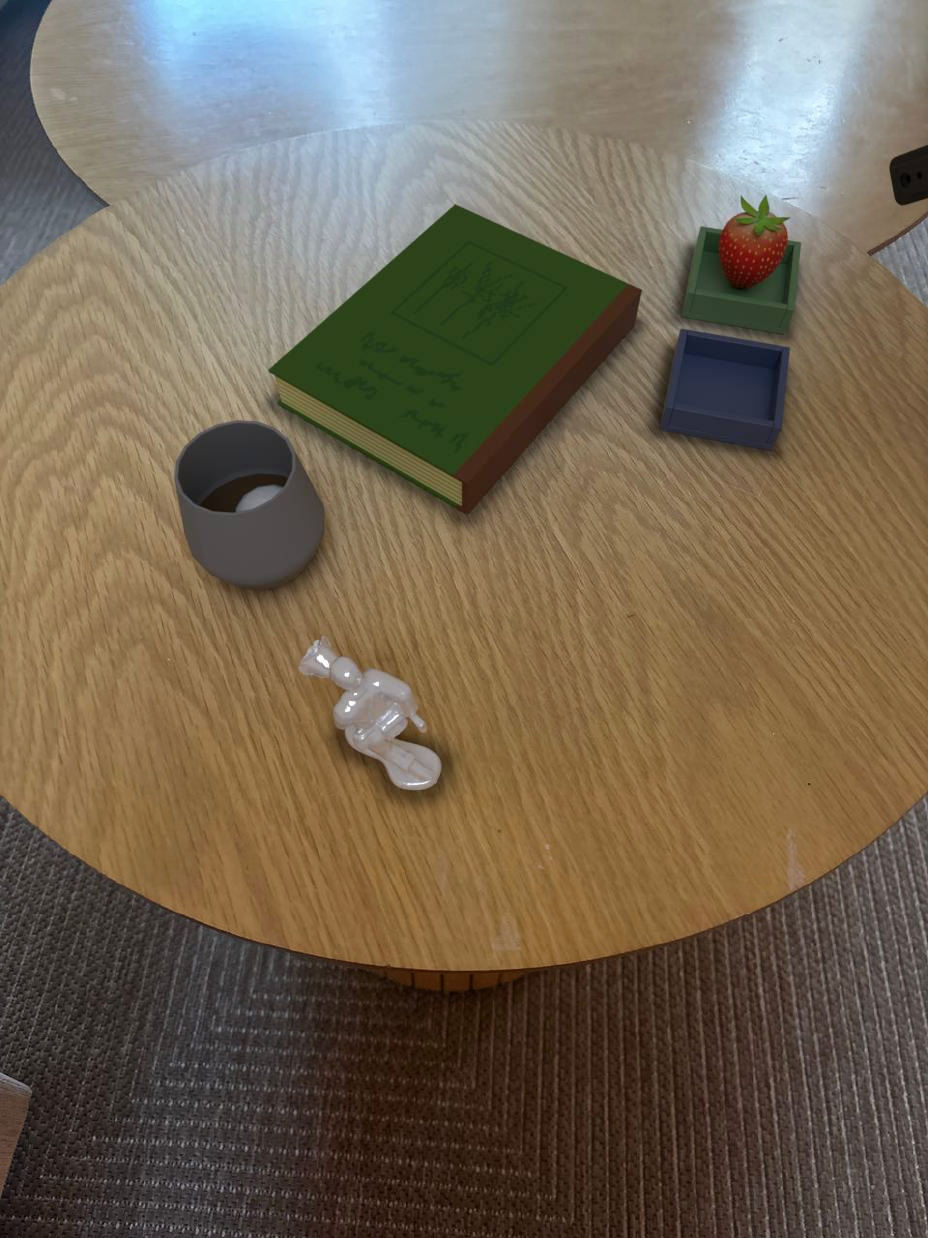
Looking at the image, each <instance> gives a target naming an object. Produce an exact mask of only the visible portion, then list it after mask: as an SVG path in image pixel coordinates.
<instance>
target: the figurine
mask: <svg viewBox="0 0 928 1238" xmlns="http://www.w3.org/2000/svg"><path fill="white" fill-rule="evenodd" d="M320 636H321V637H320V639H316V640H314V642H313V645H311V646H309V648H308V649H307V651H306V654H305V655H304V656H303V657H302V659H301V661H300V665H299V666H298V667H297V668H298V671H299V672H300V673H301V674H303V675H304V676H310V677H312V676H315V677H319V678H322V679H329V680H331V681H332V682H333V683H334V684H336V686H337V687H339V688H341V689H343V690H345V691H344V692H343V693H342V694H341V696H340V698H339V700H338V701H337V702H336V704H335V705H334V707H333V709H332V719H333V723H334V726H335V727H336V728H337V729H339V730H340V731H344V736H345V740H346V742H347V743H348V744H349V745H350V746H351V748H353V749H354V750H355V751H357V752H359V753H361V754H364V755H366V756H367V757H371V758H373V759H375V760H378V761H380V762H381V763H382V764H383V766H384V767H385V770H386V773H387V775H388V777H389V779H390V781H391V783H393V785H395V787H397V788H399V789H401V790H402V789H403V790H408V791H422V790H428V789H430V788H431V787H433V786H434V785H435V784H438V780H439V778H440V775H441V773H442V765H443V764H442V760H441V758H440V756H439V755H438V754H437V753H436V752H435V751H433V750H432V749H430V748H429V747H427V746H424V745H422V744H417V743H413V742H409V741H405V740H401V739H398V738H396V737H397V736H399V735H400V734H401V733H402V732H403V731H404V730H405V729H406V727H407V726H408V724H409V721H408V719H407V718H409V720H410V721H411V722H412V723H413V724H414V726H415V728H417V729H418V731H419V732H420V733H422V734H425V733H426V732H428V726H427V724H426V722H425V720H423V718H421V717H420V716H419V715H418V714H417V712H418V710H419V702H418V700H417V698H416V697H415V694H414V692H413V690H412V688H411V686H410V685H408V683H406V682H405V681H403V680H401V679H399V678H398V677H395V676H393V675H392V674H390V673H388V672H387V671H384V670H382V669H379V668H374V667H372V668H367V669H365V670H364V671H361V669H360V667H359V666H358V664H357V663H356V662H355V661H354V660H353V659H352V658H350V657H348V656H345V655H343V656H339V654H337V652H335V651H334V650H333V649H332V643H331V642H330V641H329V639H328V637H326V635H320Z"/></svg>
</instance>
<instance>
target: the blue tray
mask: <svg viewBox="0 0 928 1238" xmlns="http://www.w3.org/2000/svg"><path fill="white" fill-rule="evenodd" d="M790 352H791V346H784V345H780V344H779V345H778V344H773V343H769V342H762V341H757V340H750V339H745V338H739V337H734V336H728V335H722V334H716V333H710V332H705V331H698V330H692V329H686V328H680V330H679V333H678V337H677V340H676V344H675V349H674V352H673V357H672V362H671V367H670V373H669V378H668V383H667V387H666V392H665V399H664V403H663V408H662V413H661V419H660V423H659V428H658V430H659V431H664V432H669V433H674V434H681V435H685V436H690V437H696V438H700V439H701V438H702V439H707V440H712V441H717V442H722V443H728V444H731V445H732V444H733V445H739V446H744V447H749V448H754V449H760V450H765V451H770V452H771V451H773V448H774V446H775V444H776V441H777V439H778V438H779V434H780V433H781V431H782V429H783V418H784V409H785V401H786V389H787V383H788V382H787V381H788V372H789V364H790V363H789V361H790Z"/></svg>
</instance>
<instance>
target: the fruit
mask: <svg viewBox="0 0 928 1238" xmlns="http://www.w3.org/2000/svg"><path fill="white" fill-rule="evenodd" d="M740 206H741V208H742V209H743V212H740V213H737V214H735V215H734V216H732V217H731V218H730V219H729V220H727V222H726V223H725V225H724V227H723V229H722V233H721V236H720V241H719V256H720V261H721V266H722V269H723V272H724V274H725V276H726V278H727V279H728V281H729V282H730V283H731V284H732V285H734V286H736V287H739V288H748V287H751V286H754V285H756V284H758V283H760V282H762V281H763V280H765V279H766V278H767V277H768V276H770V275H771V274H772V273H773V272H774V271H775V269H776V268H777V267H778V265H779V264H780V262H781V260H782V258H783V256H784V253H785V250H786V247H787V241H788V240H789V236H788V229H787V226H786V225H785V224H784V223H785V222H787V221H788V220H790V219H791V218H792V217H791V216H777V215H775V214H774V213H773V212H770V204H769V200H768V195H767V194H765V195H764V197H763V198H762V200H761V201H760V203H759V205H758V208H757V209H758V210H757V209H756V208H754V207H753V205H751V204H750V203H749V202H747V200H746V199H745V198H744V196H743V195H742V194H740Z"/></svg>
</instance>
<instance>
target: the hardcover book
mask: <svg viewBox="0 0 928 1238" xmlns="http://www.w3.org/2000/svg"><path fill="white" fill-rule="evenodd" d="M642 292H643V289H642V288H639V287H637V286H635V285H632V284H631V283H628V282H626V281H624V280H622V279H620V278H617V277H615V276H613V275H611V274H609V273H606V272H604V271H602V270H600V269H598V268H596V267H594V266H591V265H589V264H587V263H585V262H582V261H581V260H578V259H576V258H574V257H571V256H570V255H567V254H565V253H563V252H561V251H558V250H556V249H554V248H552V247H549V246H547V245H546V244H543V243H540V242H539V241H537V240H535V239H532V238H530V237H528V236H525V235H524V234H522V233H519V232H517V231H515V230H513V229H511V228H508V227H506V226H504V225H502V224H499V223H497V222H495V221H493V220H491V219H489V218H487V217H484V216H482V215H480V214H478V213H476V212H474V211H471V210H469V209H466V208H465V207H462V206H460V205H458V204H453V205H452V206H451V207H450V208H449V209H448V210H447V211H445V213H444V214H442V215H441V216H440V217H439V218H438V219H436V220H435V221H434V222H433V223H432V224H431V225H430V226H428V228H426V229H425V230H424V231H423V232H422V233H421V234H420V235H418V237H416V238H415V239H414V240H413V241H412V242H410V244H409V245H408V246H406V247H405V248H404V249H403V250H401V251H400V253H398V254H397V255H395V257H394V258H392V259H391V260H390V261H389V262H387V264H386V265H384V266H383V267H382V268H381V269H380V270H379V271H378V272H376V274H375V275H374V276H372V277H371V278H369V280H368V281H367V282H366V283H364V284H363V285H362V286H361V287H360V288H359V289H358V290H357V291H355V292H354V293H353V294H352V295H351V296H349V298H347V299H346V300H345V301H344V302H343V303H342V304H341V305H340V306H338V307H337V308H336V309H335V310H334V311H333V312H332V313H330V314H329V315H328V316H327V317H326V318H325V319H324V320H323V321H321V322H320V323H319V324H318V325H317V326H316V327H315V328H313V329H312V330H311V331H310V332H309V333H308V334H307V335H305V337H304V338H302V339H301V340H300V341H299V342H297V344H296V345H294V346H293V347H292V348H291V349H290V350H289V351H288V352H287V353H285V354H284V355H282V357H281V358H280V359H278V360H277V361H276V362H275V363H274V364H273V365H271V367H269V368H268V373H269V374H272V376H274V379H275V382H276V387H277V390H278V394H279V398H280V399H279V400H278V401H277V402H276V404H277V405H278V406H280V407H281V408H283V409H284V410H287V411H288V412H290V413H292V414H293V415H295V416H297V417H298V418H300V419H302V420H304V421H305V422H306V423H309V424H311V425H312V426H314V427H316V428H318V429H320V430H321V431H323V432H325V433H326V434H328V435H329V436H331V437H333V438H334V439H337V440H338V441H340V442H342V443H343V444H345V445H347V446H348V447H350V448H352V449H354V450H355V451H357V452H359V453H361V454H362V455H364V456H365V457H367V458H369V459H370V460H372V461H374V462H376V463H378V464H379V465H381V466H383V467H385V469H388V470H390V471H392V472H393V473H395V474H396V475H398V476H400V477H401V478H403V479H405V480H406V481H409V482H410V483H411V484H414V485H415V486H418V487H419V488H421V489H422V490H424V491H426V492H428V493H429V494H431V495H433V496H434V497H435V498H437V499H440V500H441V501H443V502H445V503H446V504H448V505H450V506H452V507H453V508H455V509H457V510H458V511H460V512H462V513H463V514H465V515H469V514H470V513H472V511H473V509H474V508H475V507H476V506H477V505H478V504H479V503H480V502H481V501H482V500H483V498H484V497H485V496H486V495H487V494H488V493H489V491H490V490H491V489H493V487H494V486H495V485H496V484H497V482H499V480H500V479H501V478H502V477H503V475H504V474H506V472H507V471H508V470H509V469H510V468H511V467H512V465H514V463H515V462H516V461H517V460H518V458H520V457H521V455H522V454H523V453H524V452H525V451H526V450H527V449H528V447H529V446H530V445H531V444H532V443H533V442H534V440H535V439H536V438H537V437H538V436H539V435H540V434H541V433H542V431H543V430H544V429H545V428H546V427H547V426H548V425H549V424H550V423H551V421H552V420H553V419H554V418H555V417H556V415H557V414H559V412H560V411H561V410H562V409H563V408H564V407H565V405H566V404H567V403H569V401H570V400H571V399H572V397H574V395H576V393H577V392H578V391H579V390H580V388H582V386H583V385H584V384H585V383H586V382H587V381H588V379H589V378H590V377H591V376H592V374H594V373H595V371H596V370H597V369H598V368H599V367H600V366H601V365H602V364H603V362H604V361H605V360H606V359H607V358H608V357H609V356H610V354H611V353H612V352H613V351H614V350H615V349H616V348H617V347H618V345H619V344H621V342H622V341H623V340H624V338H626V336H627V335H628V334H629V333H630V332H631V331H632V330H633V329H634V327H635V325H636V321H637V316H638V312H639V306H640V301H641V297H642Z"/></svg>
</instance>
